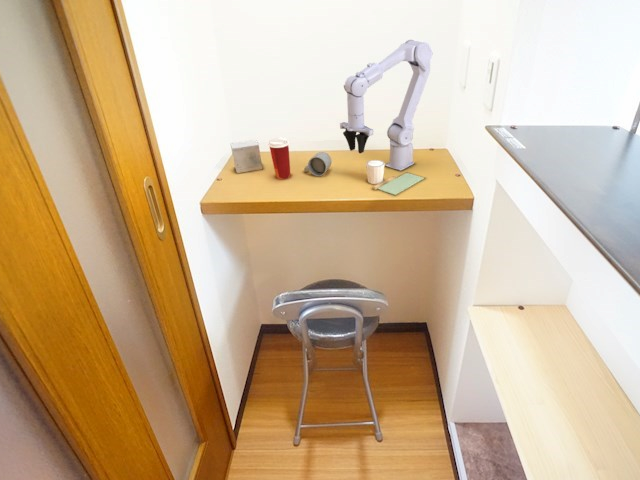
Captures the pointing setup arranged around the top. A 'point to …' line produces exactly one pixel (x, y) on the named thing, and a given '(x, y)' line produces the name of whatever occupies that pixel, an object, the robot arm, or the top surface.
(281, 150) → the paper cup
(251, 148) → the grey concrete block
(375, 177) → the beige short cylinder
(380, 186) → the stop batten
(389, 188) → the mat
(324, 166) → the ceramic mug
